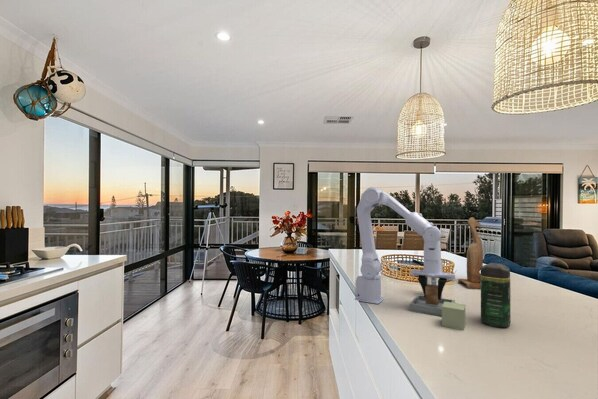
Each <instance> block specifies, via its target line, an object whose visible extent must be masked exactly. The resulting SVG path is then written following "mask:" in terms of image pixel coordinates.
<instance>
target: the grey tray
mask: <svg viewBox="0 0 598 399" xmlns="http://www.w3.org/2000/svg"><path fill="white" fill-rule="evenodd" d="M439 301H440V302H439V304H438V305H432V304H426V298H425V297H424V294H423V295H422V294H417V295H416V296H414V298H413V299H412V300H411V302H410V303H409V311H410V312H414V313H420V314H426V315H432V316H437V317H442V305H443V303H444V301H445V302H452V303H456V300H455V299H450V298H444V297H442V298H441V300H439Z"/></svg>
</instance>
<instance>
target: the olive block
mask: <svg viewBox="0 0 598 399" xmlns="http://www.w3.org/2000/svg"><path fill="white" fill-rule="evenodd" d="M466 310H467V309H466V304H465V303H464V304H463V303H458V302H457V303H456V302H455V303H452V302H445V301H444V303H443V305H442V316H441V327H447V328H450V329H456V330H462V331H464V330H465V327H466V324H467V323H466V321H467V316H466V315H467V314H466Z"/></svg>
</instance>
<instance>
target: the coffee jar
mask: <svg viewBox="0 0 598 399" xmlns="http://www.w3.org/2000/svg"><path fill="white" fill-rule="evenodd" d="M480 274H481V288H480V321H481V322H482V323H483V324H487V325H489V326H490V327H496V328H498V327H500V328H507V327H508V326H510V324H511V302H512V301H511V297H512V296H511V270H510V268H509V266H506V265H505V264H503V263H499V262H498V263H497V262H489V263H487V264H483V266H482V267H481V270H480Z"/></svg>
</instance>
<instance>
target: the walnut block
mask: <svg viewBox="0 0 598 399" xmlns="http://www.w3.org/2000/svg"><path fill="white" fill-rule="evenodd" d="M425 295H426V304H432V305H438V304H439V302H440V301H439V300H438V285H430V284H427V285H426V286H425Z"/></svg>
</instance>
